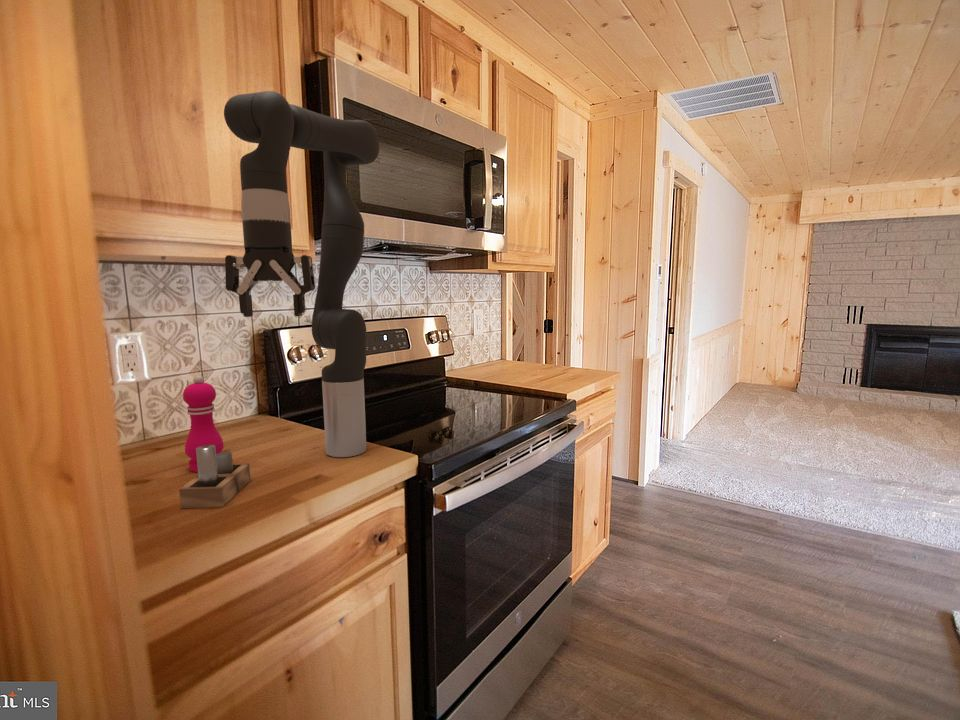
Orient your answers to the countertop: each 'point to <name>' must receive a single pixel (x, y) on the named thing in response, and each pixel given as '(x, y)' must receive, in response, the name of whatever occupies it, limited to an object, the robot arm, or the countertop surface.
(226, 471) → the wooden divided tray
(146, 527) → the countertop surface
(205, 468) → the pin
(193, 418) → the pepper mill
